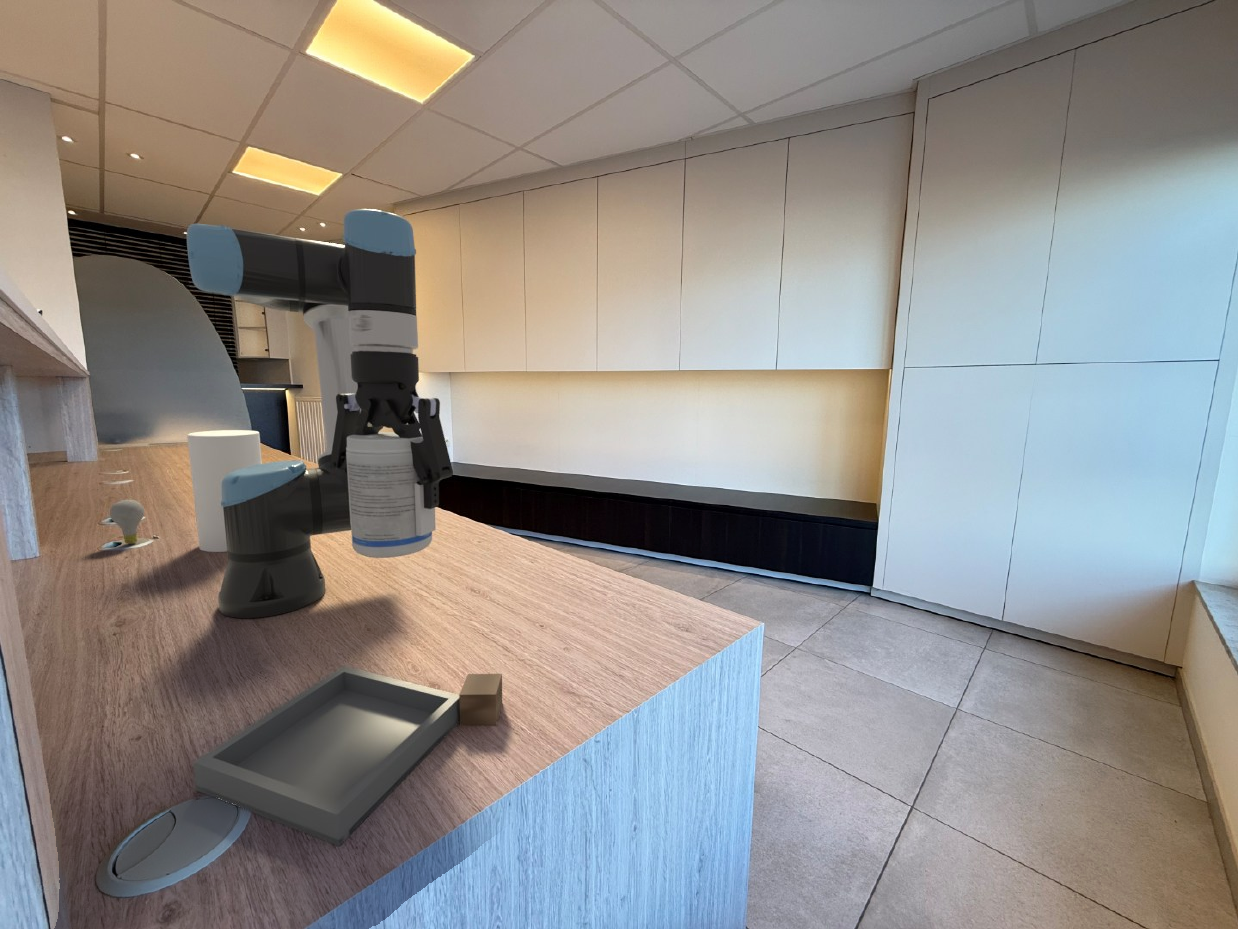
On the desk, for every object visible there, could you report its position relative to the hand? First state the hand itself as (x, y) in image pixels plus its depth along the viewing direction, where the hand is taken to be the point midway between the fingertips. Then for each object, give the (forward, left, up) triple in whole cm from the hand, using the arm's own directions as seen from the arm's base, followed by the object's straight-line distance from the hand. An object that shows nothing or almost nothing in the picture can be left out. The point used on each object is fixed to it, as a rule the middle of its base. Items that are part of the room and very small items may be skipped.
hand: (392, 527), depth 65 cm
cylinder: (-69, +27, -19) cm, 76 cm away
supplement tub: (0, 0, -3) cm, 3 cm away
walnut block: (+16, -5, -19) cm, 26 cm away
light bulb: (-88, +18, -19) cm, 92 cm away
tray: (+6, -15, -19) cm, 25 cm away
